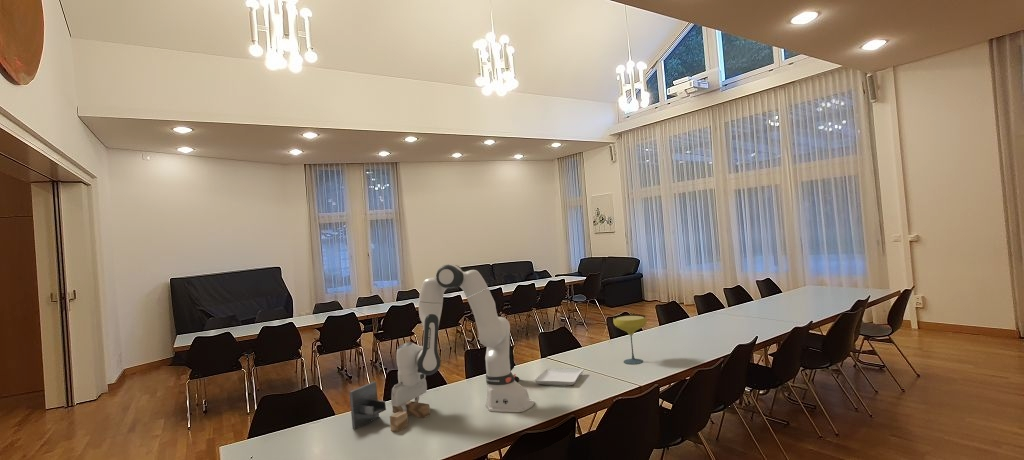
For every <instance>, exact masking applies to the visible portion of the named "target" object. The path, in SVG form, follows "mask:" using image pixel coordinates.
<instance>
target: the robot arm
mask: <svg viewBox="0 0 1024 460" xmlns="http://www.w3.org/2000/svg"><path fill="white" fill-rule="evenodd" d="M455 288H461V290H462V291H463V293H464V295H465V298H466V299H467V302H468V304H469V306H470V308H471V312H472V314H473V318H474V320H475V325H476V329H477V332H478V335H477V337H478V340H479V342H480V344H481V345H482V346H484V347H486V351H485V357H484V360H485V370H486V373H485V380H486V385H487V386H486V387H487V390H486V391H487V393H486V401H485V402H486V403H485V408H487V409H488V411H489V412H500V413H501V412H502V413H522V412H526V411H528V410H530V409H531V408H532V407H533V406H534V405H535V400H534V399H533V398H530V396H529V392H528V390H527V388H525V387H524V386H522V385H521V384H520V383H519V382H516V381H515V379H514V377H516V376H517V374H516V373H514V374H513V373H512V370H511V371H510V366H511V365H510V359H509V346H510V339H511V335H510V334H511V332H510V331H511V325H510V324H511V323H510V322H509V320H508V319H507V318H505V317H503V316H499V315H498V313H497V312H498V311H497V308H496V307H497V306H496V301H495V300H494V297H493V296H492V293H491V290H490V288H489V287H488V284H487V282H486V280H485V279H484V278H483V275H482V274H481V273H480V272H479V271H478V270H477V269H470V270H466V271H463V268H462V267H460V266H459V265H456V264H450V263H449V264H448V263H447V264H444V265H442V266H441V267H439V268H438V269H437V271H436V273H435V277H428V278H426V279H424V280H423V281H422V284H421V286H420V291H419V298H418V314H419V315H418V316H419V319H420V321H421V324H422V329H423V340H422V345H418V344H416V343H414V342H411V341H409V342H405V343H402V344H400V345H399V346H398V347H397V349H396V356H395V357H396V366H397V370H398V371H397V380H398V383H396V384H394V385H393V387H392V388H391V400H390V401H391V402H390V403H391V405H393V406H397V407H398V406H400V405H401V407H402V408H403V412H408V408H406V406H405V405H406V402H408V401H413V400H414V401H413V402H419V400H420V397H421V396H422V395H424V394H425V393H427V392H428V385H427V380H426V377H427V376H432V375H434V374H436V373H437V372H438V371H439V369H440V367H441V358H440V355H439V352H438V340H439V339H438V338H439V326H440V321H441V316H442V313H443V312H442V310H443V303H444V295H445V291H446V290H447V289H455Z"/></svg>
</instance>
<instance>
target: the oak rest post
mask: <svg viewBox="0 0 1024 460" xmlns="http://www.w3.org/2000/svg"><path fill="white" fill-rule="evenodd" d="M389 424H390V431H391V432H397V433H398V432H400V431H403V429H406V428H408V426H409V422H408V415H407V412H403V411H399V412H397V413H395V412H394V413H393V414H392V415H389Z"/></svg>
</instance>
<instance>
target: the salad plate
mask: <svg viewBox="0 0 1024 460" xmlns="http://www.w3.org/2000/svg"><path fill="white" fill-rule="evenodd" d="M584 371H585V368H546V369H545V370H543V371H542V372H541V373H540V374H539V375H538V376H537V377H536V378H535V379H534V382H535V383H536V384H539V385H547V386H548V385H549V386H572V385H575V383H576V381H577V380H578V378H579V377H580V376H581V375H582V374H583V372H584Z"/></svg>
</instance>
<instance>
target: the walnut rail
mask: <svg viewBox="0 0 1024 460" xmlns="http://www.w3.org/2000/svg"><path fill="white" fill-rule="evenodd" d="M391 405H392V404H391ZM405 406H406V408H408V412H407V416H412V417H417V418H422V419H425V418H427V417H429V416H430V415H431V410H430V409H431V408H430V403H424V402H419V401H418V402H414V401H413V400H410V401H408V402H406V405H405ZM391 409H392V413H394V414H395V413H397V412H399V411H403V408H402V407H401V405H400V406H398V407H397V406H393V405H392V408H391Z"/></svg>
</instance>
